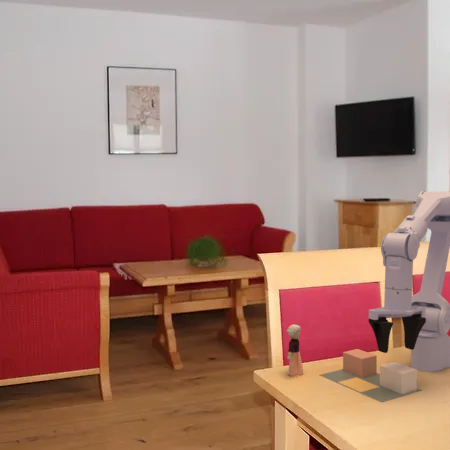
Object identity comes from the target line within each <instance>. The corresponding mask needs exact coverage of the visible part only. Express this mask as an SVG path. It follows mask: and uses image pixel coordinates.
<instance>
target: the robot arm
mask: <svg viewBox="0 0 450 450" xmlns="http://www.w3.org/2000/svg"><path fill="white" fill-rule="evenodd" d="M428 229H429V230H430V231H431V233H430V238H429V243H428V248H427V249H428V250H427V254H426V259H425V265H424V270H423V274H422V280H421V285H420V290H419V291H418V292H417V293H415V294H413V270H414V260H415V259H416V258H417V256H418V254H419V248H420V246H421V241H422V239H423V238H424V237H425V236H426V234H427V232H428ZM380 252H381V257H382V264H383V265H382V266H384V267H385V269H384V271H385V272H384V274H385V275H384V301H383V303H384V304H383V306H382V307H381V306H380V307H377V308H373V309H372V308H371V309H368V323H369V325H370V327H371V329H372V330H373V331H372V332H373V334H374V337H375V340H376V344H377V349H378V352H381V353H383V354H387V353H388V351H389V347H390V346H389V342H390V336H391V331H392V328H393V326H394V322H390V321H389V320H388V319H394V318H401V320H402V325H403V330H404V331H403V332H404V333H403V336H404V337H403V338H404V340H403V341H404V348H405V349H408V350H410V367H411V368H414V369H417V371H419V372H426V373H434V372H439V371H441V370H444V369H446V368H449V369H450V336H449V335H448V332H449V330H450V303H449V302H448V300H447V299H445V298H444V297H443V296H442V293H443V286H444V282H445V277H446V276H445V275H446V269H447V263H448V260H449V259H448V258H449V253H450V191H426V190H422V191H420V192H419V194H418V195H417V198H416V210H415V211H414V213H413V214H409V215H406V217H405V218H404V219H403V220H402V222H401V223H400V224H399V225H398V227H397V228H396V229H395V230H394V231H393V232H389V233H387V234H386V235H384V236H383V238H382V240H381V245H380Z"/></svg>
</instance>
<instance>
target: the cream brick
mask: <svg viewBox="0 0 450 450" xmlns="http://www.w3.org/2000/svg"><path fill="white" fill-rule="evenodd" d="M379 374H380V386H383V387H385V388H388V389H390V390H393V391H395V392H398V393H400V394H404V393H408V392H411V391H415V390H417V389H418V370H417V369H414V368H412V367H411V366H409V365H405V364H402V363H399V362H396V361H393V362H389V363H384V364H381V365H379Z"/></svg>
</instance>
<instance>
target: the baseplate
mask: <svg viewBox="0 0 450 450" xmlns="http://www.w3.org/2000/svg"><path fill="white" fill-rule="evenodd" d="M319 376H321V377H322V378H325V379H327V380H329V381H331V382H334V383H336V384H339V385H340V386H343V387H345V388H347V389H350V390H352V391H355V392H357V393H359V394H361V395H364V396H366V397H368V398H371V399H372V400H375V401H378V402H380V403H385V402H388V401H391V400H394V399H398V398H402V397H405V396H408V395H409V396H410V395H412V394H415V393H419V392H421V391H423V390H422V389H420V388H417V390H415V391H411V392H408V393H404V394H400V393H398V392H395V391H393V390H390V389H388V388H385V387H383V386H380V373H378V372H377V374H376V375H372V376H368V377H364V378H360V377H358V376H355V375H353V374H351V373H348V372H346V371H343V368H342V369H338V370H334V371H330V372H325V373H323V374H319Z"/></svg>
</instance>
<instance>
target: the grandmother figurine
mask: <svg viewBox="0 0 450 450" xmlns="http://www.w3.org/2000/svg"><path fill="white" fill-rule="evenodd" d="M286 333H287V334H288V335H289V338H290V340H289V342H288V351H287V356H286V357H287V358H286V359H287V360H288V364H289V365H288V375H289V376H290V377H292V378H297V377H298V376H302V375H304V368H303V362H302V357H301V353H300V340H299V339H300V338H301V326H300V325H298V324H291V325H289V326H288V328H287V330H286Z"/></svg>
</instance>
